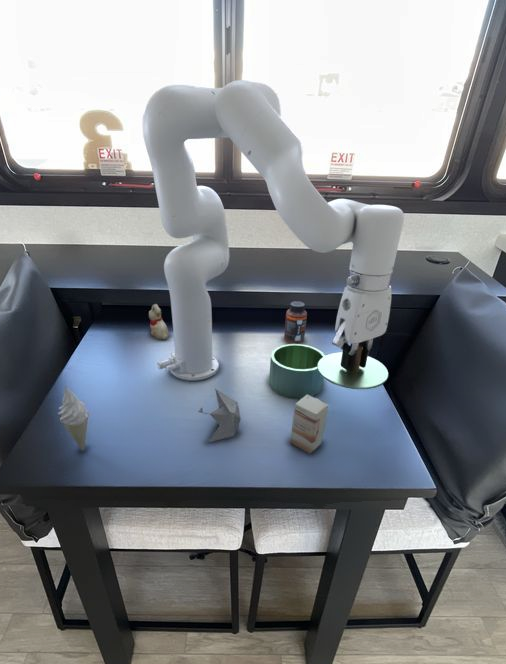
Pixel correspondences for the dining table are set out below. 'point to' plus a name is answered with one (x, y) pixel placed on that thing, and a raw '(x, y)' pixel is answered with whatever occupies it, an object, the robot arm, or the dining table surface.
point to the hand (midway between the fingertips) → (352, 366)
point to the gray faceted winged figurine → (225, 417)
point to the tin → (295, 370)
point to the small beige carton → (308, 423)
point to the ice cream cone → (74, 417)
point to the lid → (359, 377)
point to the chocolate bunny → (158, 324)
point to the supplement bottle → (295, 323)
